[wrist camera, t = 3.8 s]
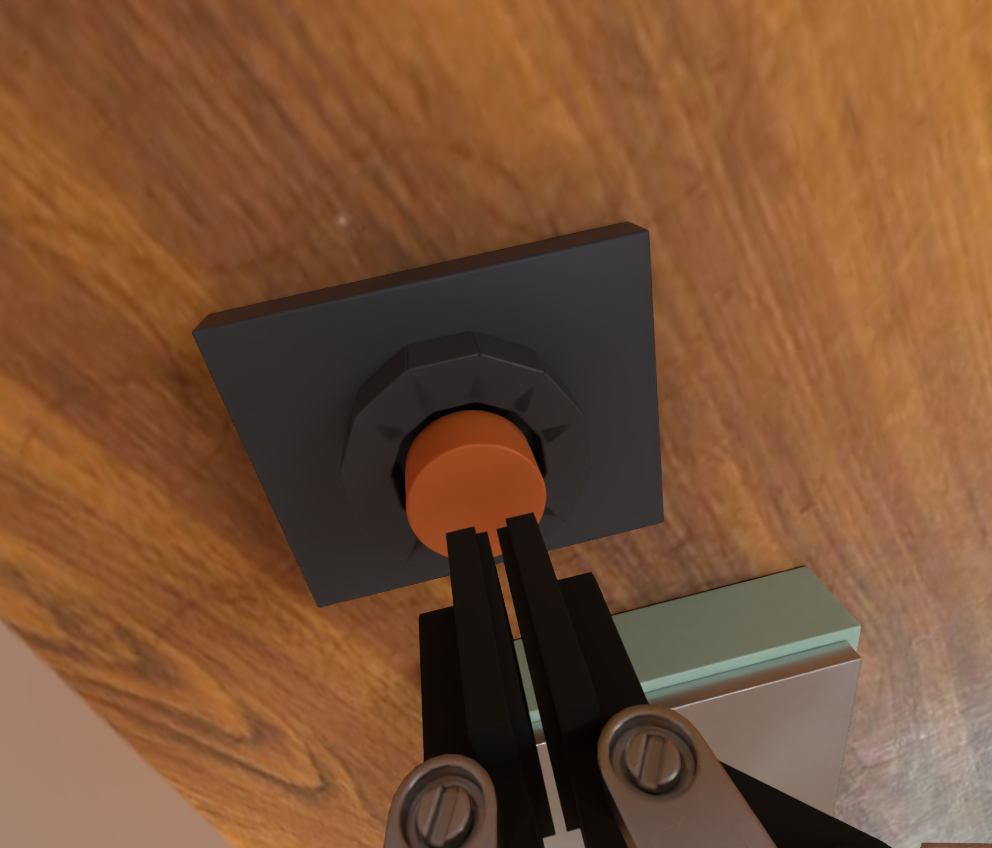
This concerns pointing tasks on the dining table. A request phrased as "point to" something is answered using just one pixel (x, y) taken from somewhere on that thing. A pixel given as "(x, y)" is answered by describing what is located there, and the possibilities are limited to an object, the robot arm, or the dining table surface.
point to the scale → (744, 681)
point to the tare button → (470, 478)
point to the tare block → (447, 396)
